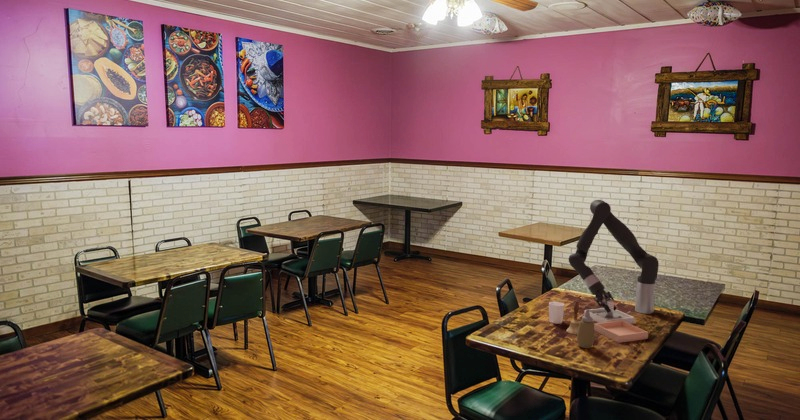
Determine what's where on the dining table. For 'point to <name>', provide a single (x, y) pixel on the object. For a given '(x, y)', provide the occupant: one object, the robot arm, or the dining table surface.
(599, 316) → the bin
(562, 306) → the white cup
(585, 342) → the squeeze bottle
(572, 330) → the hand bell
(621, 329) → the terracotta bin
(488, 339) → the dining table surface
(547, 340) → the dining table surface
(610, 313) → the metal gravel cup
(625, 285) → the dining table surface
